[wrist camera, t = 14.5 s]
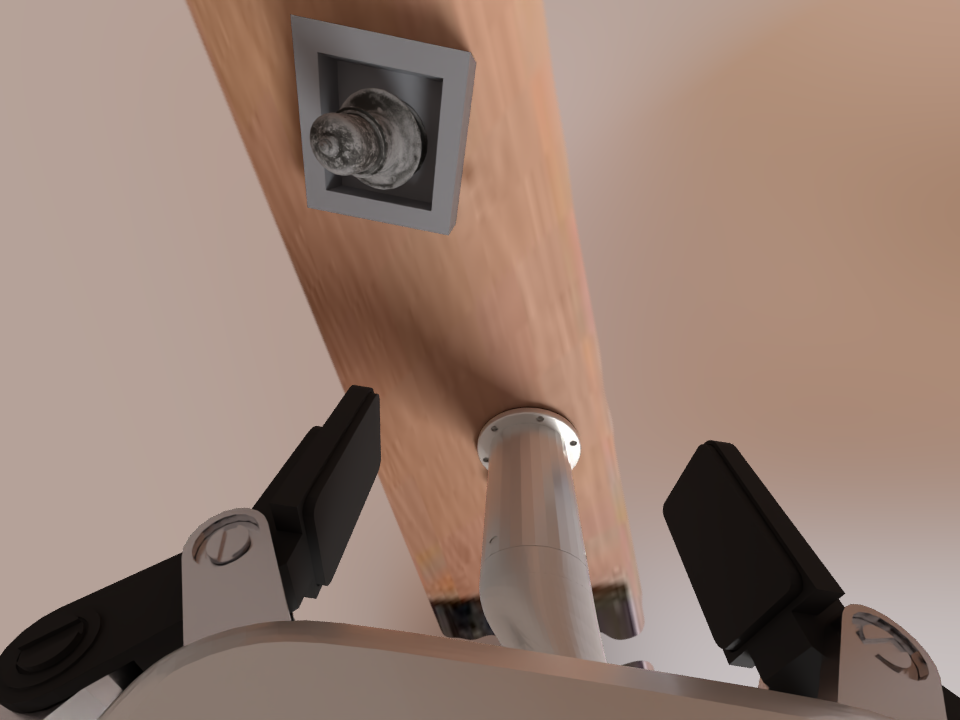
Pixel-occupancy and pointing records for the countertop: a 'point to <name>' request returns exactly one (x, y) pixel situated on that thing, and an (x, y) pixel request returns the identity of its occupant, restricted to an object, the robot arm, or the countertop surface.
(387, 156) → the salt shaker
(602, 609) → the countertop surface
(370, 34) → the holder
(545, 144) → the countertop surface
